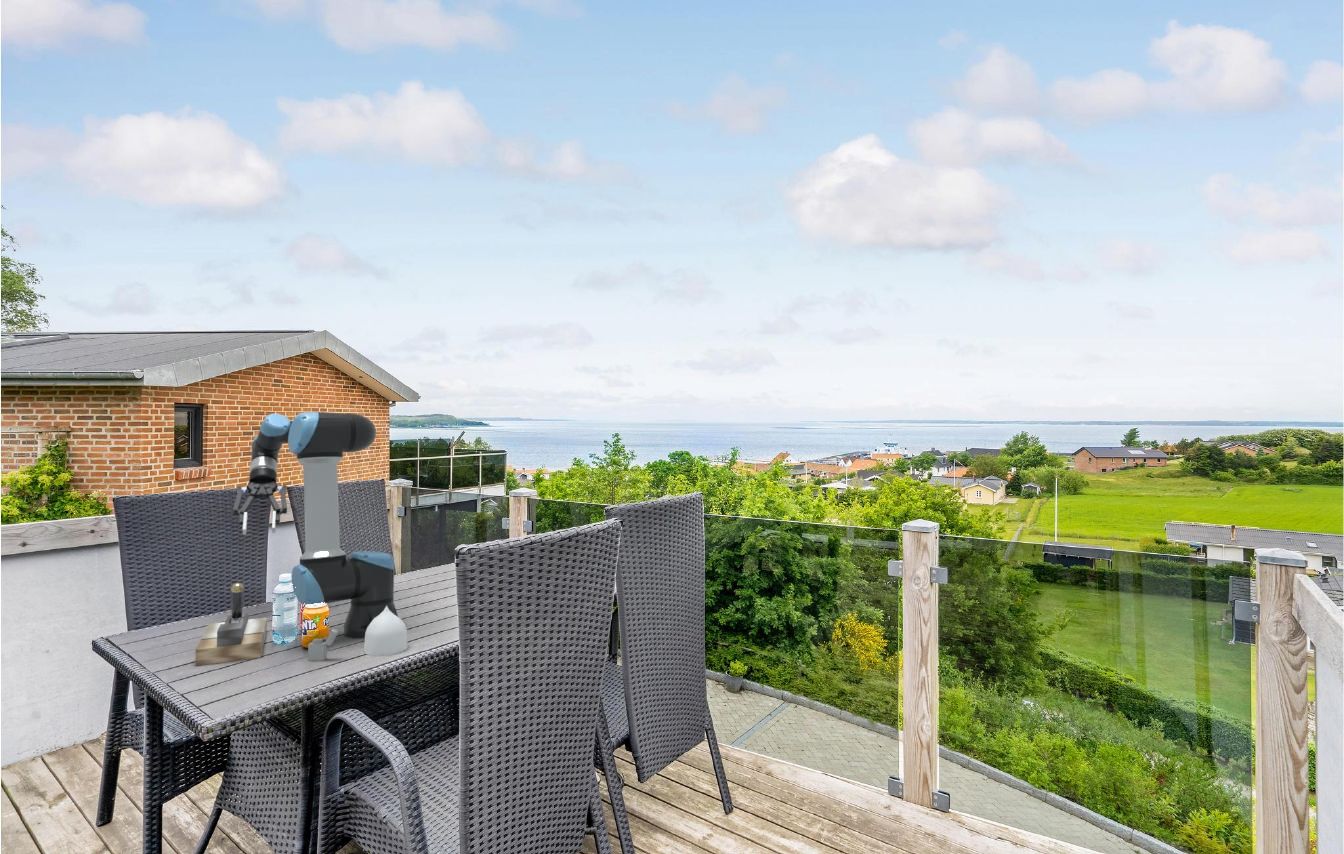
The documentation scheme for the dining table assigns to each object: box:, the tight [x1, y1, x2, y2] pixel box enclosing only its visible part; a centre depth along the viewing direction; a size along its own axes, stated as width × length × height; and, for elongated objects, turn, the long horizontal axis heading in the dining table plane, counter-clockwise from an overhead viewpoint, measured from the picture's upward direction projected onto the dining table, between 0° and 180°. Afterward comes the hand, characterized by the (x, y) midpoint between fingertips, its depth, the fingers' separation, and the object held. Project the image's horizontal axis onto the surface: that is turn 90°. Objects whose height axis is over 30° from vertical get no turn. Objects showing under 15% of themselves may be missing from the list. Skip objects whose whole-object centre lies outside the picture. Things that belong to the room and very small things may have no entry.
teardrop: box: [363, 606, 408, 657], centre depth 180 cm, size 11×11×12 cm
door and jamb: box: [194, 613, 268, 666], centre depth 180 cm, size 14×25×8 cm, turn 29°
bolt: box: [230, 582, 245, 623], centre depth 183 cm, size 3×12×12 cm, turn 29°
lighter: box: [307, 627, 340, 662], centre depth 171 cm, size 7×2×8 cm, turn 92°
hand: (259, 530), depth 200 cm, fingers open, 7 cm apart
